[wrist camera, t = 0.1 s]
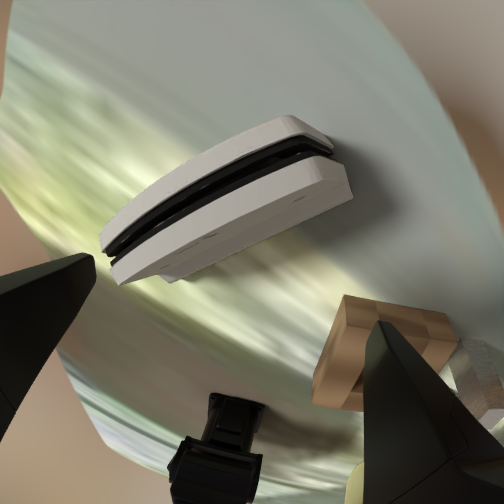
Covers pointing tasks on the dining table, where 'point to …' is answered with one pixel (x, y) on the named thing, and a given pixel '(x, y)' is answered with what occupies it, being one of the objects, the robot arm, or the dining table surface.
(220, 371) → the dining table surface
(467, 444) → the robot arm
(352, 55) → the dining table surface
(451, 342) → the socket block
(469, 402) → the square bit
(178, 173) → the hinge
